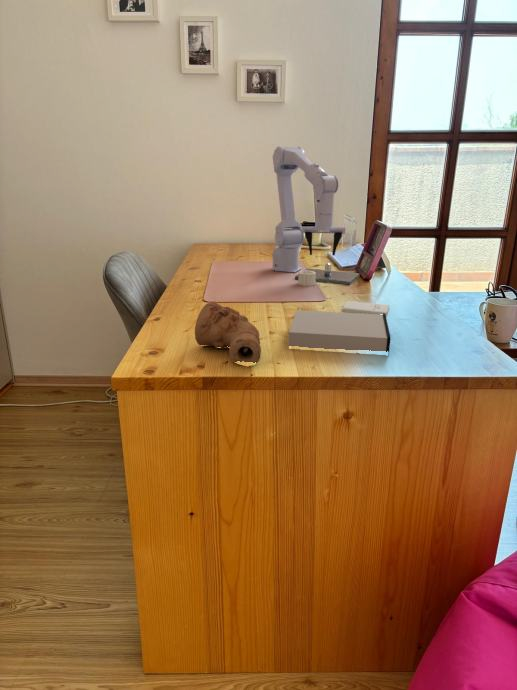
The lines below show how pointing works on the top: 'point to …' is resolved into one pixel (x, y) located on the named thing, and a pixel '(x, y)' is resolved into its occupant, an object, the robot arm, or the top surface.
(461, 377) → the top surface
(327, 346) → the disc drive
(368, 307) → the external hard drive
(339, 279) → the steel tile with stud
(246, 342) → the clay pipe
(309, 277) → the ring
